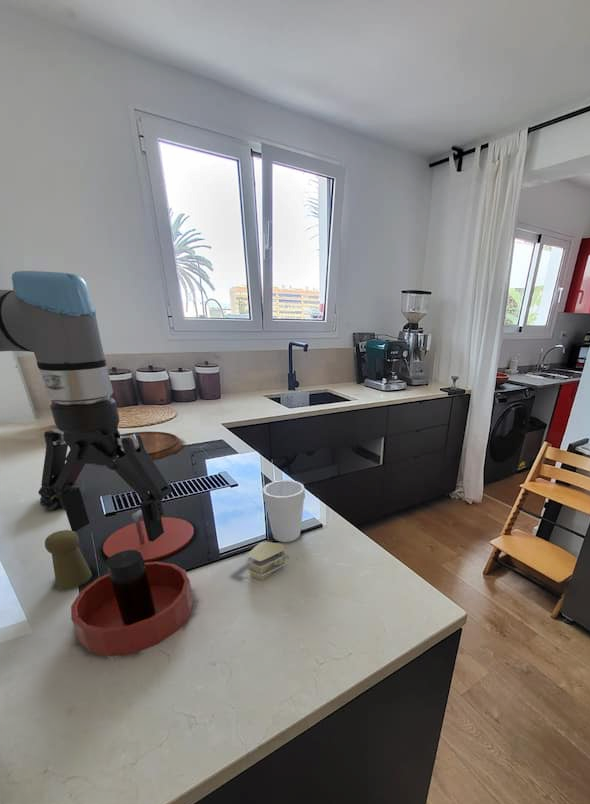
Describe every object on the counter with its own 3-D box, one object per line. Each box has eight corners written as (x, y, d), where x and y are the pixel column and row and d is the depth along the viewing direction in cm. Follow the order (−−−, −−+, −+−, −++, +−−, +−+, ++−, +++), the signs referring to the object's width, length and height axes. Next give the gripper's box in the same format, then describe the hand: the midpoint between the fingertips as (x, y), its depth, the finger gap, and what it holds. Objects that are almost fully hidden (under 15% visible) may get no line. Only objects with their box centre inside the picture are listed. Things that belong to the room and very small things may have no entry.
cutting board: (77, 470, 128) (75, 463, 127) (93, 441, 154) (91, 435, 153) (183, 458, 140) (182, 452, 139) (181, 433, 167) (180, 427, 166)
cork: (81, 568, 82) (66, 523, 77) (99, 577, 79) (85, 530, 75) (49, 585, 77) (32, 537, 72) (68, 595, 74) (51, 546, 70)
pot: (53, 647, 63) (42, 621, 61) (130, 579, 79) (124, 556, 77) (151, 666, 60) (144, 639, 58) (211, 592, 76) (207, 568, 74)
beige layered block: (268, 593, 76) (266, 570, 74) (234, 578, 80) (231, 555, 78) (299, 566, 84) (298, 545, 82) (267, 554, 88) (265, 533, 86)
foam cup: (298, 550, 90) (296, 499, 85) (260, 545, 91) (256, 495, 86) (310, 529, 99) (309, 482, 93) (275, 524, 100) (272, 478, 95)
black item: (115, 623, 67) (98, 565, 62) (136, 602, 72) (121, 547, 67) (142, 627, 67) (127, 570, 62) (161, 606, 71) (149, 551, 66)
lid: (83, 559, 85) (71, 523, 81) (142, 517, 101) (135, 486, 98) (161, 571, 82) (153, 534, 78) (209, 526, 99) (204, 494, 95)
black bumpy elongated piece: (40, 464, 108) (40, 482, 97) (77, 467, 114) (81, 484, 103) (37, 493, 110) (36, 514, 99) (73, 495, 115) (76, 515, 104)
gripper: (-22, 399, 52) (29, 535, 61) (145, 411, 48) (174, 554, 57) (31, 388, 59) (70, 512, 68) (181, 398, 55) (202, 528, 64)
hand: (118, 532), depth 62 cm, fingers open, 13 cm apart
